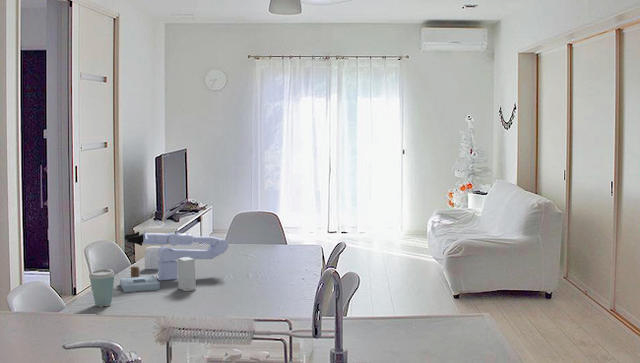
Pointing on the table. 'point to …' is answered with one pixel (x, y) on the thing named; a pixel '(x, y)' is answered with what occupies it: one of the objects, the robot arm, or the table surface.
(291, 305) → the table surface
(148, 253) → the photo printer
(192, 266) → the skincare box
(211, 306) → the table surface
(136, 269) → the walnut peg
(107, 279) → the disposable coffee cup
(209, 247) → the robot arm
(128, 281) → the socket block
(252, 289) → the table surface
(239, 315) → the table surface
